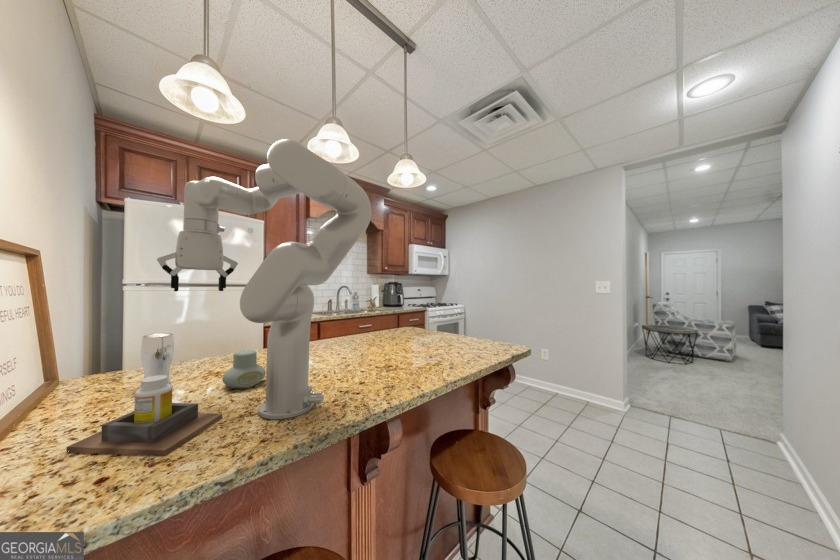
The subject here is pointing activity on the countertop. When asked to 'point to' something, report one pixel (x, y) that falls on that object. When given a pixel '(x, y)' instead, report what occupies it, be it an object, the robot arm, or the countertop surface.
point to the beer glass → (157, 354)
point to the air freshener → (244, 370)
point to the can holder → (147, 433)
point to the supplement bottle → (153, 400)
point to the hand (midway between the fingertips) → (199, 291)
